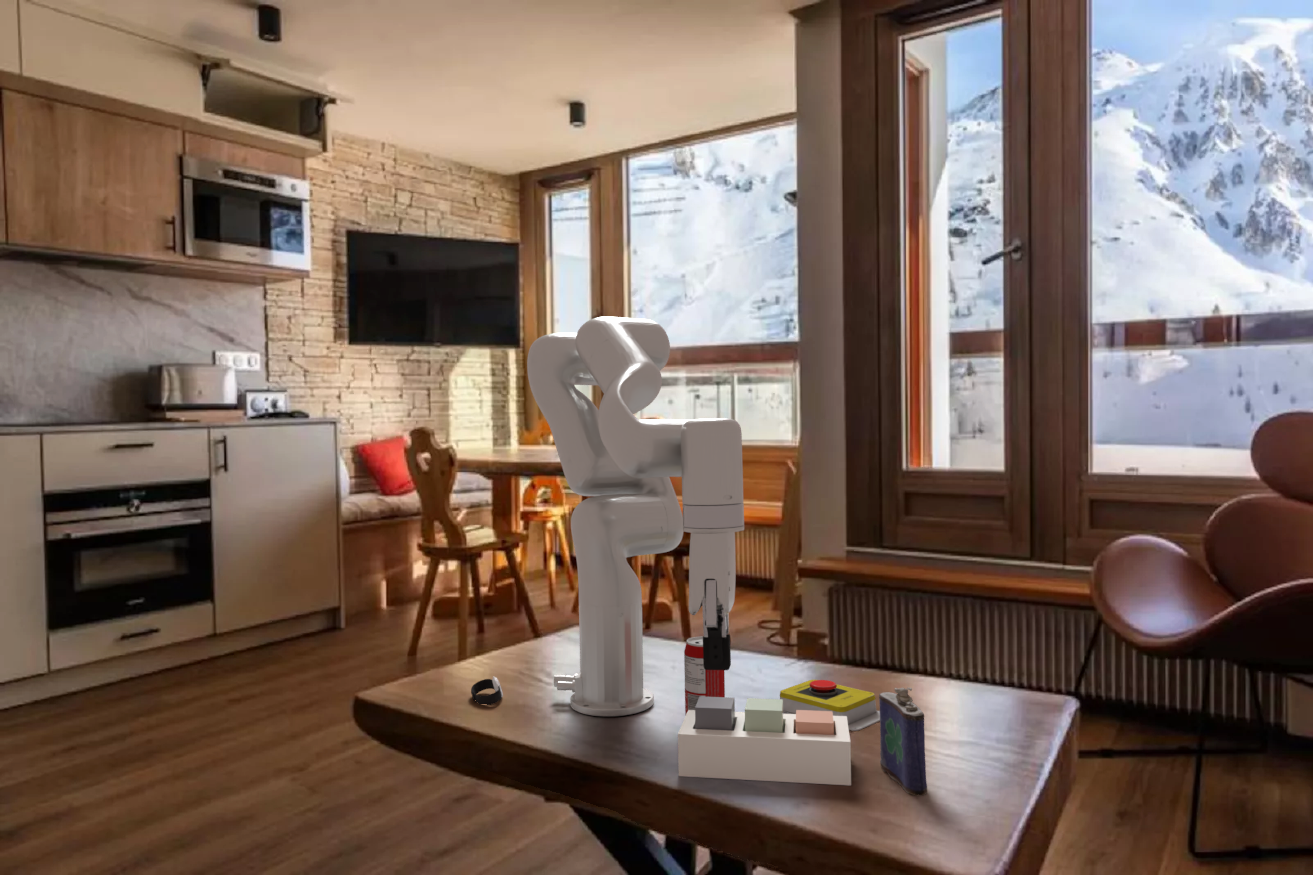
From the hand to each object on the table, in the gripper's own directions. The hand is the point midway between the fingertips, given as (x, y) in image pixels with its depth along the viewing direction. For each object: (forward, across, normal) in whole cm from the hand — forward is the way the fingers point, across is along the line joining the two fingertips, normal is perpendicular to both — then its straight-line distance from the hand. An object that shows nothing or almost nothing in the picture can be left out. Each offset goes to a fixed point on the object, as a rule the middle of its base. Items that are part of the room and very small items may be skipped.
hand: (717, 668), depth 104 cm
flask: (+12, +1, +22) cm, 25 cm away
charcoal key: (+8, 0, 0) cm, 8 cm away
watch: (+12, -22, -38) cm, 46 cm away
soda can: (+12, -14, -4) cm, 19 cm away
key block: (+12, 0, +6) cm, 13 cm away
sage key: (+8, 0, +6) cm, 10 cm away
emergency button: (+12, -22, +14) cm, 29 cm away
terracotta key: (+10, 0, +12) cm, 15 cm away
